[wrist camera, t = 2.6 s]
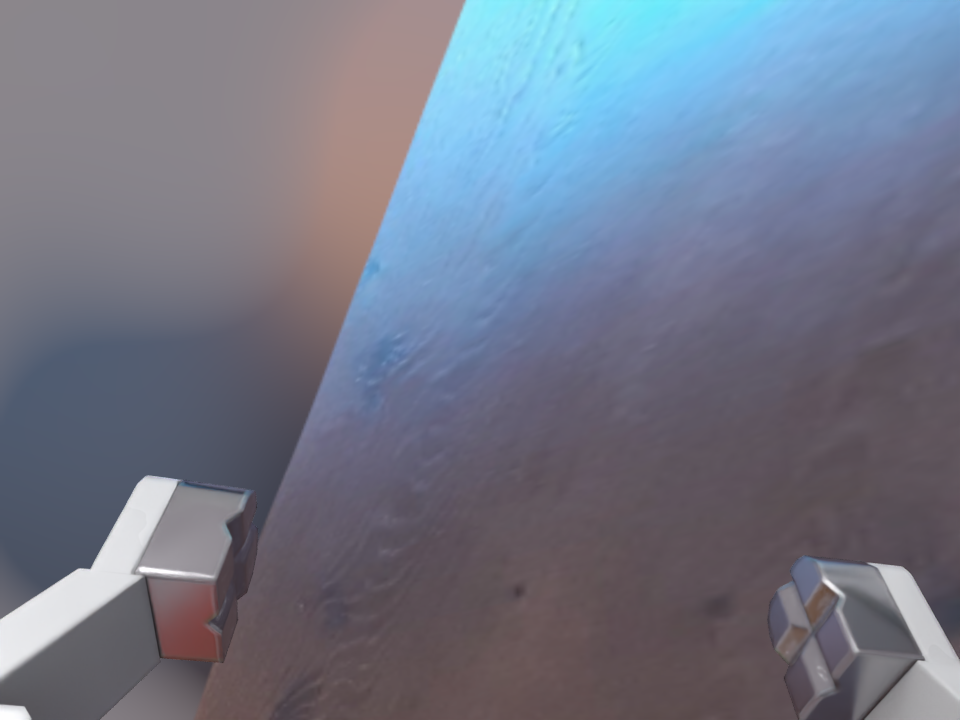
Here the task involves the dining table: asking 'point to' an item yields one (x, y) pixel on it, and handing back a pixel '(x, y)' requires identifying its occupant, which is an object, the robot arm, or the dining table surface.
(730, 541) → the dining table surface
